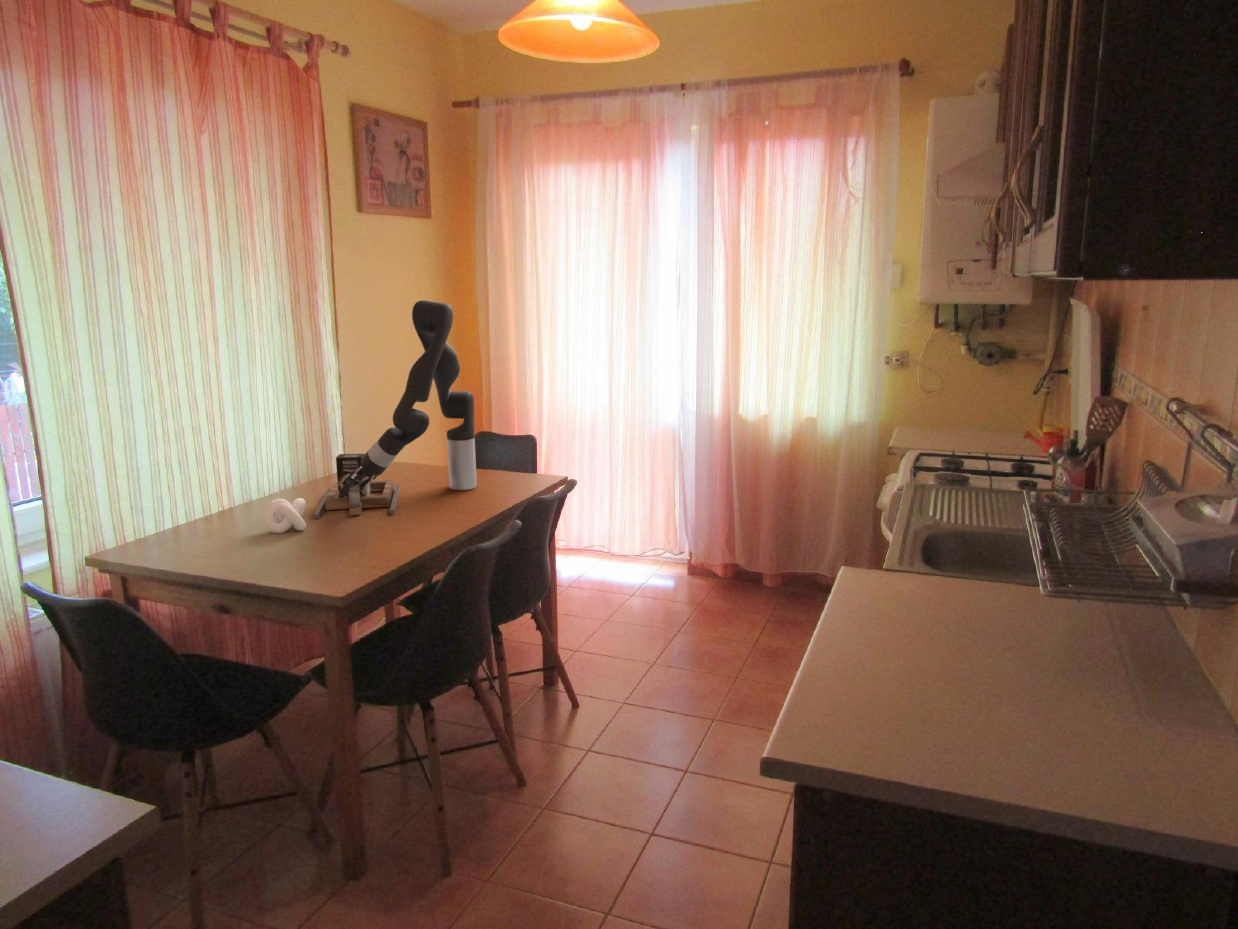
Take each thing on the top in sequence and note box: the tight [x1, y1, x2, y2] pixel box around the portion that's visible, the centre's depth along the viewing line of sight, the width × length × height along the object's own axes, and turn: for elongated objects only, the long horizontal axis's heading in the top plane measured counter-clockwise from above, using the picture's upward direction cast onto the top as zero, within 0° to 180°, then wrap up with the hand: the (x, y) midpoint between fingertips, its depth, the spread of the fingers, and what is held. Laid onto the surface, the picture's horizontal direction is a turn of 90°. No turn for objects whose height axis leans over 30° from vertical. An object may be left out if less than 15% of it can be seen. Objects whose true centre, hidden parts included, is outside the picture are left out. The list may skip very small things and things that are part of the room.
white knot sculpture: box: [263, 497, 307, 534], centre depth 248 cm, size 11×12×9 cm
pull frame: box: [325, 474, 394, 516], centre depth 277 cm, size 32×19×12 cm, turn 11°
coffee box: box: [335, 453, 371, 498], centre depth 275 cm, size 9×6×16 cm
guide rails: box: [313, 484, 401, 520], centre depth 277 cm, size 32×23×2 cm
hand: (350, 490), depth 264 cm, fingers open, 8 cm apart
